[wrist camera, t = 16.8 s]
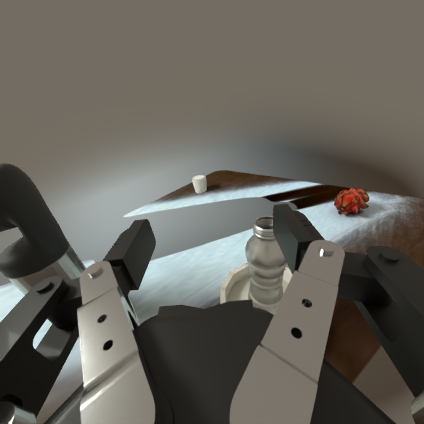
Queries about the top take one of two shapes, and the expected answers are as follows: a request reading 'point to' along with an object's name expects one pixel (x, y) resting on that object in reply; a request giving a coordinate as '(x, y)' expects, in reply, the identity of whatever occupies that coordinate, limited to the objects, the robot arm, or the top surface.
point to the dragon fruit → (351, 201)
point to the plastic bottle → (265, 266)
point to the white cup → (199, 183)
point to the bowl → (243, 284)
